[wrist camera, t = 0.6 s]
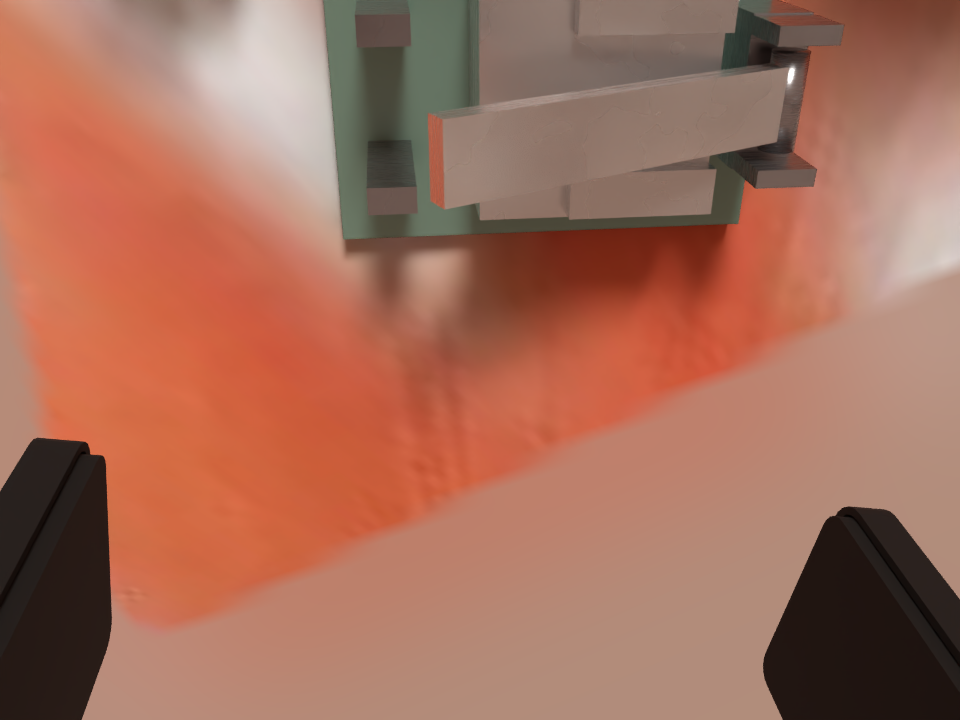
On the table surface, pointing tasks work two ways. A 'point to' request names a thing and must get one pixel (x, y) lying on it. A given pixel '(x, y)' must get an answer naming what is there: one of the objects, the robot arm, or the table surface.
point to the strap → (613, 130)
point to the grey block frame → (595, 64)
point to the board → (404, 116)
